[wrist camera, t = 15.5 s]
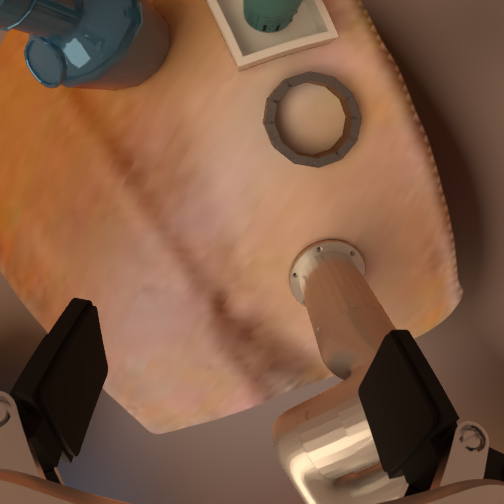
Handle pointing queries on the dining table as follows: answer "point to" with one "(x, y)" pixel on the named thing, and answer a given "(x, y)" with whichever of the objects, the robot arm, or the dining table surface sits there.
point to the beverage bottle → (270, 14)
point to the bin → (271, 44)
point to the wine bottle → (89, 41)
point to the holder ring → (349, 127)
